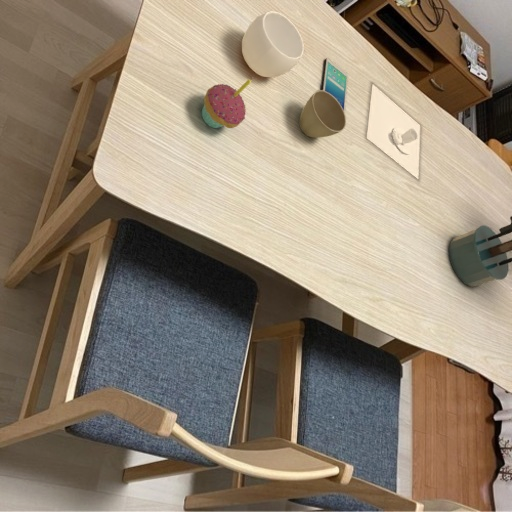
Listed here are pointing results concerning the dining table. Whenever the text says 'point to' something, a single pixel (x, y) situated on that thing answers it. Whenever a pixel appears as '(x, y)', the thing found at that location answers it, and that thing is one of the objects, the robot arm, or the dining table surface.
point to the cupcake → (224, 106)
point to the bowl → (467, 261)
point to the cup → (272, 45)
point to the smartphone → (335, 81)
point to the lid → (491, 252)
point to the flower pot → (322, 115)
